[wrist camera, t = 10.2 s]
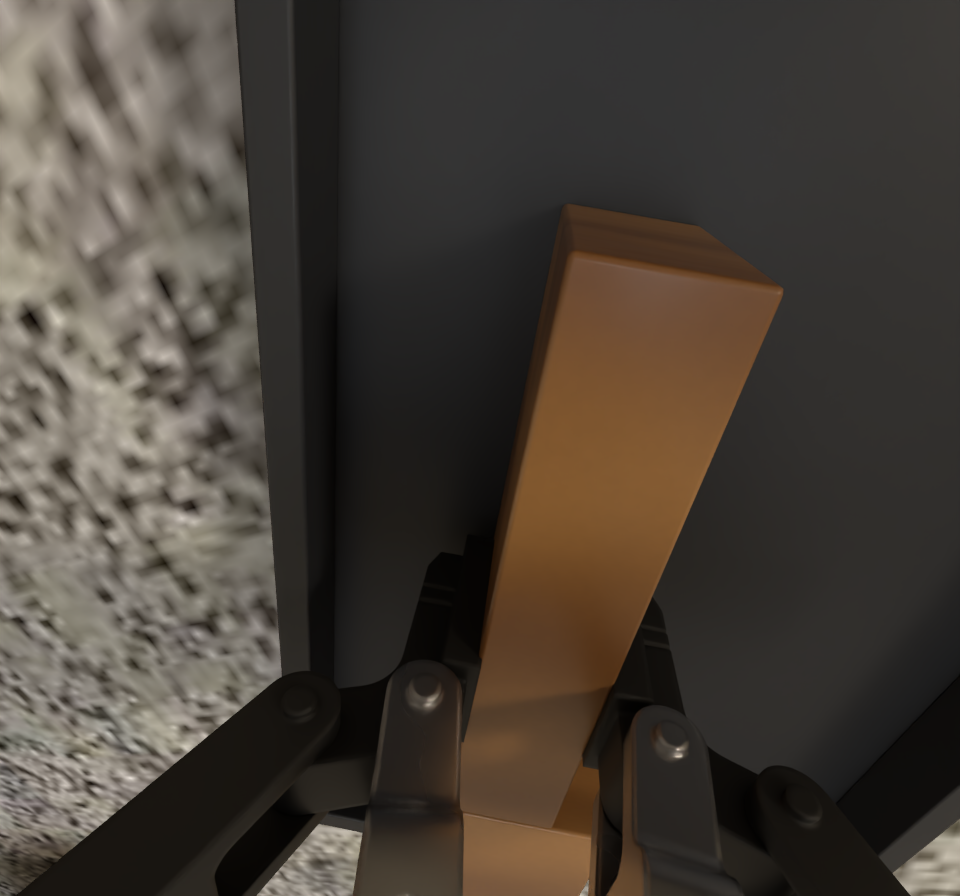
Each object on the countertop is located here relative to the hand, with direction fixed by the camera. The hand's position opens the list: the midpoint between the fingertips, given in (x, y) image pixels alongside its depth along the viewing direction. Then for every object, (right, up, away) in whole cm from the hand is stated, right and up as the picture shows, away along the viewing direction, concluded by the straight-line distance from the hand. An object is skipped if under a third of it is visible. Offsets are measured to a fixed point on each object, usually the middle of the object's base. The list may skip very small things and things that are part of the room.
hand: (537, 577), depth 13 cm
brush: (0, -1, +1) cm, 1 cm away
